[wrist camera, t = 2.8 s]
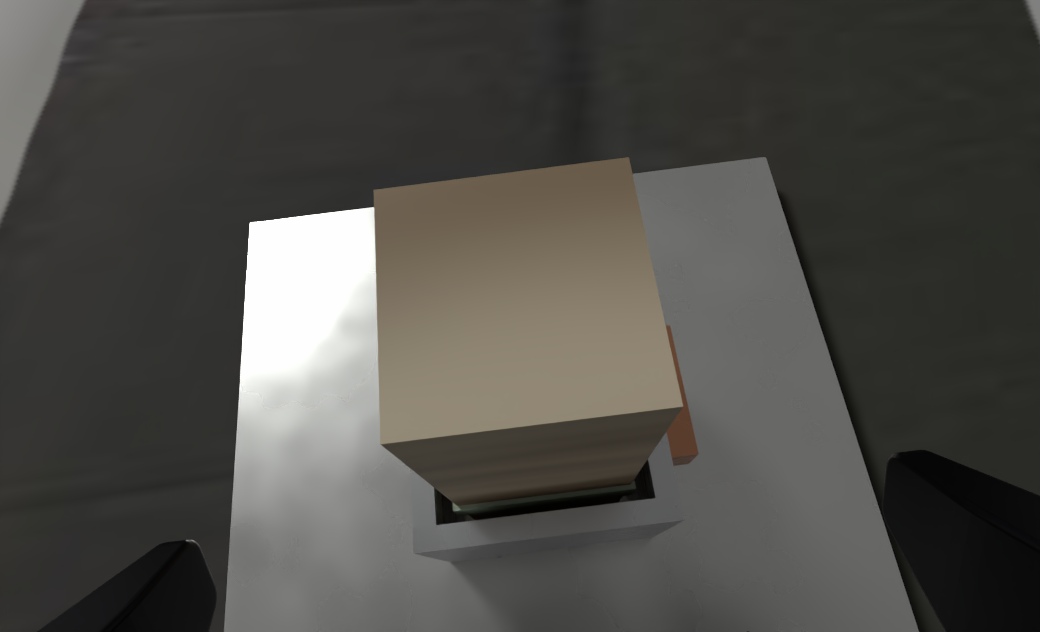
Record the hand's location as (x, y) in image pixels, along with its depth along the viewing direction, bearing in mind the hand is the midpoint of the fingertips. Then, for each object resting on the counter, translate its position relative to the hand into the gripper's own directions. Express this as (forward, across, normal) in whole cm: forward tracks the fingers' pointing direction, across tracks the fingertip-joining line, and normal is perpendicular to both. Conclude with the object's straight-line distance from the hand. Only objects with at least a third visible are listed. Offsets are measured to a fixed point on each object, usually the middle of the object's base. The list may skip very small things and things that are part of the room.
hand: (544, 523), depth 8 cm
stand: (+10, 0, +6) cm, 12 cm away
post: (+9, 0, +5) cm, 10 cm away
